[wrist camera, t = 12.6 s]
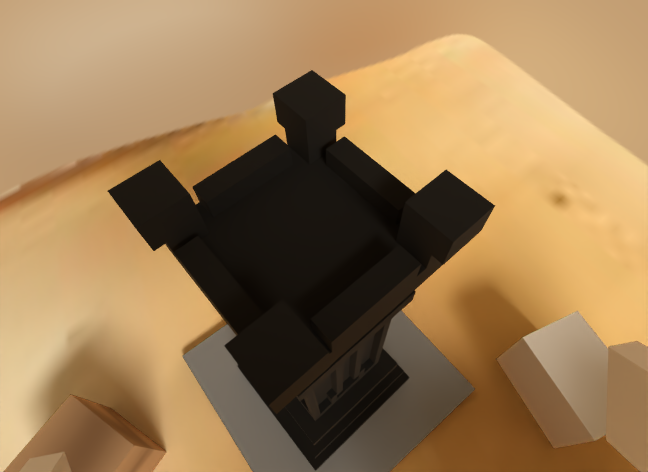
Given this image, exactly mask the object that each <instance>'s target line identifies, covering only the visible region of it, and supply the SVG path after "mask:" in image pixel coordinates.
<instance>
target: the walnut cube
mask: <svg viewBox="0 0 648 472" xmlns="http://www.w3.org/2000/svg"><path fill="white" fill-rule="evenodd" d="M61 452H65V455H66V458H67V461H68V463H69V466H70V469H71V472H153V470H154V469H155V467H156V466H157V465H158V463H159V462H160V460H161V459H162V458H163V456H164V455H165V453H166V451H165V450H163V449H162V448H161V447H160V446H158V445H157V444H156V443H154V442H153V441H152V440H151V439H149V438H148V437H147V436H146V435H144V434H143V433H142V432H141V431H139V430H138V429H137V428H135V427H134V426H133V425H132V424H130V423H129V422H128V421H127V420H125V419H124V418H123V417H122V416H120V415H119V414H118V413H116V412H115V411H114V410H113V409H111V408H109V407H106V406H103V405H100V404H97V403H94V402H92V401H89V400H86V399H83V398H80V397H77V396H74V395H71V394H70V395H69V397H68V398H67V399H66V400H65V401H64V402H63V403H62V405H61V406H60V407H59V408H58V409H57V410H56V412H55V413H54V414H53V415H52V416H51V417H50V419H49V420H48V421H47V422H46V423H45V424H44V425H43V427H42V428H41V429H40V430H39V431H38V432H37V434H36V435H35V436H34V437H33V438H32V439H31V440H30V442H29V443H28V444H27V445H26V446H25V447H24V449H23V450H22V451H21V452H20V453H19V454H18V455H17V457H16V458H15V459H14V460H13V461H12V462H11V464H10V465H9V466H8V467H7V468H6V469H5V471H4V472H19V471H20V470H21V469H22V468H23V466H24V465H25V464H26V462H27V461H28V460H29V458H35V457H40V456H45V455H50V454H55V453H61Z"/></svg>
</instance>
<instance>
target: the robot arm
mask: <svg viewBox="0 0 648 472" xmlns="http://www.w3.org/2000/svg"><path fill="white" fill-rule="evenodd" d="M606 441H607V442H608V443H610V444H611V445H612V446H613V447H614V448H615V449H616V450H617V451H618V452H619V453H620V454H621V455H622V456H623V457H625V458H626V459H627V460H628V461H629V462H630V463H631V464H632V465H633V466H634V467H635V468H636V469H637V470H639V471H640V472H648V347H647V346H645V345H643V344H642V343H640V342H638V341H635V342H630V343H624V344H619V345H614V346H609V347H608V379H607V416H606ZM19 472H71V469H70V466H69V463H68V461H67V458H66V455H65V452H61V453H55V454H50V455H45V456H40V457H35V458H29V460H28V461H27V462H26V464H25V465H24V466H23V468H22V469H21V470H20V471H19Z"/></svg>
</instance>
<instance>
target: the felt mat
mask: <svg viewBox="0 0 648 472" xmlns="http://www.w3.org/2000/svg"><path fill="white" fill-rule="evenodd" d="M235 336H236V334H235V333H234V332H233V331H232V329H231V328H230V327H229V325H228V324H227V325H225V326H224V327H222V328H221V329H220V330H218V331H217V332H215V333H214V334H212V335H211V336H210V337H208V338H207V339H205V340H204V341H203V342H201V343H200V344H198V345H197V346H196V347H194V348H193V349H191V350H190V351H189V352H187V353H186V354H184V355H183V358H184V360H185V361H186V363H187V365H188V366H189V368H190V370H191V371H192V373H193V374H194V376H195V378H196V379H197V381H198V383H199V384H200V386H201V388H202V389H203V391H204V392H205V394H206V396H207V397H208V399H209V401H210V402H211V404H212V406H213V407H214V409H215V410H216V412H217V414H218V415H219V417H220V419H221V420H222V422H223V424H224V425H225V427H226V429H227V430H228V432H229V433H230V435H231V437H232V438H233V440H234V442H235V443H236V445H237V447H238V448H239V450H240V451H241V453H242V455H243V456H244V458H245V460H246V461H247V463H248V465H249V466H250V468H251V469H252V471H253V472H390V471H391V470H392V469H393V468H394V467H395V466H396V465H397V464H398V463H399V462H400V461H401V460H402V459H403V458H404V457H405V456H406V455H407V454H408V453H410V452H411V451H412V450H413V449H414V448H415V447H416V446H417V445H418V444H419V443H420V442H421V441H422V440H423V439H424V438H425V437H426V436H427V435H428V434H429V433H430V432H431V431H432V430H433V429H434V428H435V427H437V426H438V425H439V424H440V423H441V422H442V421H443V420H444V419H445V418H446V417H447V416H448V415H449V414H450V413H451V412H452V411H453V410H454V409H455V408H456V407H457V406H458V405H459V404H460V403H461V402H462V401H463V400H465V399H466V398H467V397H468V396H469V395H470V394H471V393H472V392H473V391H474V390H475V388H474V387H473V386H472V385H471V384H470V383H469V382H468V381H467V380H466V379H465V378H464V376H463V375H462V374H461V373H460V372H459V371H458V370H457V369H456V368H455V367H454V366H453V365H452V364H451V363H450V362H449V361H448V360H447V358H446V357H445V356H444V355H443V354H442V353H441V352H440V351H439V350H438V349H437V348H436V347H435V346H434V345H433V344H432V343H431V342H430V340H429V339H428V338H427V337H426V336H425V335H424V334H423V333H422V332H421V331H420V330H419V329H418V328H417V327H416V326H415V325H414V324H413V322H412V321H411V320H410V319H409V318H408V317H407V316H406V315H405V314H404V313H403V312H402V311H400V312H398V313H397V314H396V315H395V316H394V317H393V318H392V319H391V322H390V326H389V329H388V332H387V335H386V339H385V342H384V345H383V349H384V350H385V351H386V352H387V353H388V354H389V355H390V356H391V357H392V358H393V359H394V360H395V361H396V362H397V363H398V365H399V366H400V367H401V368H402V369H403V370H404V372H405V373H406V374H407V375H408V376H409V379H408V380H407V381H406V382H405V383H404V384H403V385H402V386H401V387H400V388H399V389H398V390H397V391H396V392H395V393H394V394H393V395H392V396H391V397H390V398H389V399H388V400H387V401H386V402H385V403H384V404H383V405H382V406H381V407H380V408H379V409H378V410H377V411H376V412H375V413H374V414H373V415H372V416H371V417H370V418H369V419H368V420H367V421H366V422H365V423H364V424H363V425H362V426H361V427H360V428H359V429H358V430H357V431H356V432H355V433H354V434H353V435H352V436H351V437H350V438H349V439H348V440H347V441H346V442H345V443H344V444H342V445H341V446H340V447H339V448H338V449H337V450H336V451H335V452H334V453H333V454H332V455H331V456H330V457H329V458H328V459H327V460H326V461H325V462H324V463H323V464H322V465H321V466H320V467H319V468H318V469H317V470H316V471H315V470H314V468H313V467H312V466H311V464H310V463H309V462H308V460H307V459H306V458H305V456H304V455H303V454H302V452H301V451H300V450H299V448H298V447H297V446H296V444H295V443H294V442H293V440H292V439H291V438H290V436H289V435H288V434H287V432H286V431H285V430H284V428H283V427H282V426H281V424H280V423H279V422H278V420H277V419H276V418H275V416H274V415H273V414H272V412H271V411H270V410H269V408H268V407H267V406H266V404H265V403H264V402H263V400H262V399H261V398H260V396H259V395H258V394H257V392H256V391H255V390H254V388H253V387H252V386H251V384H250V383H249V382H248V380H247V379H246V378H245V376H244V375H243V374H242V372H241V371H240V370H239V368H238V367H237V366H238V364H237V362H236V361H235V360H234V358H233V357H232V356H231V354H230V353H229V352H228V350H227V349H226V348H225V346H224V345H225V344H227V343H228V342H229V341H230V340H232V339H233V338H234V337H235Z"/></svg>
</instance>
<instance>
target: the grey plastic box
mask: <svg viewBox="0 0 648 472" xmlns="http://www.w3.org/2000/svg"><path fill="white" fill-rule="evenodd" d="M496 360H497V361H498V363H499V364H500V366H501V368H502V369H503V371H504V372H505V374H506V375H507V377H508V378H509V380H510V382H511V383H512V385H513V386H514V388H515V389H516V391H517V392H518V394H519V395H520V397H521V399H522V400H523V402H524V403H525V405H526V406H527V408H528V409H529V411H530V412H531V414H532V416H533V417H534V419H535V420H536V422H537V423H538V425H539V426H540V428H541V429H542V431H543V433H544V434H545V436H546V437H547V439H548V440H549V442H550V443H551V445H552V446H553V448H559V447H564V446H570V445H575V444H581V443H586V442H592V441H596V440H598V439H599V438H601V437H603V436H605V435H606V416H607V379H608V348H607V347H606V346H605V344H604V343H603V342H602V341H601V339H600V338H599V337H598V336H597V334H596V333H595V332H594V331H593V329H592V328H591V327H590V326H589V324H588V323H587V322H586V321H585V319H584V318H583V317H582V316H581V314H580V313H579V312H578V311H576V312H574V313H572V314H570V315H568V316H566V317H564V318H562V319H559V320H557V321H555V322H553V323H551V324H549V325H547V326H545V327H543V328H541V329H539V330H537V331H535V332H533V333H530V334H528V335H526V336H524V337H522V338H521V339H520V340H519V341H517V342H516V343H515V344H514V345H513V346H511V347H510V348H509V349H508V350H507V351H505V352H504V353H503V354H502V355H500V356H499V357H498V358H497V359H496Z"/></svg>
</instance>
